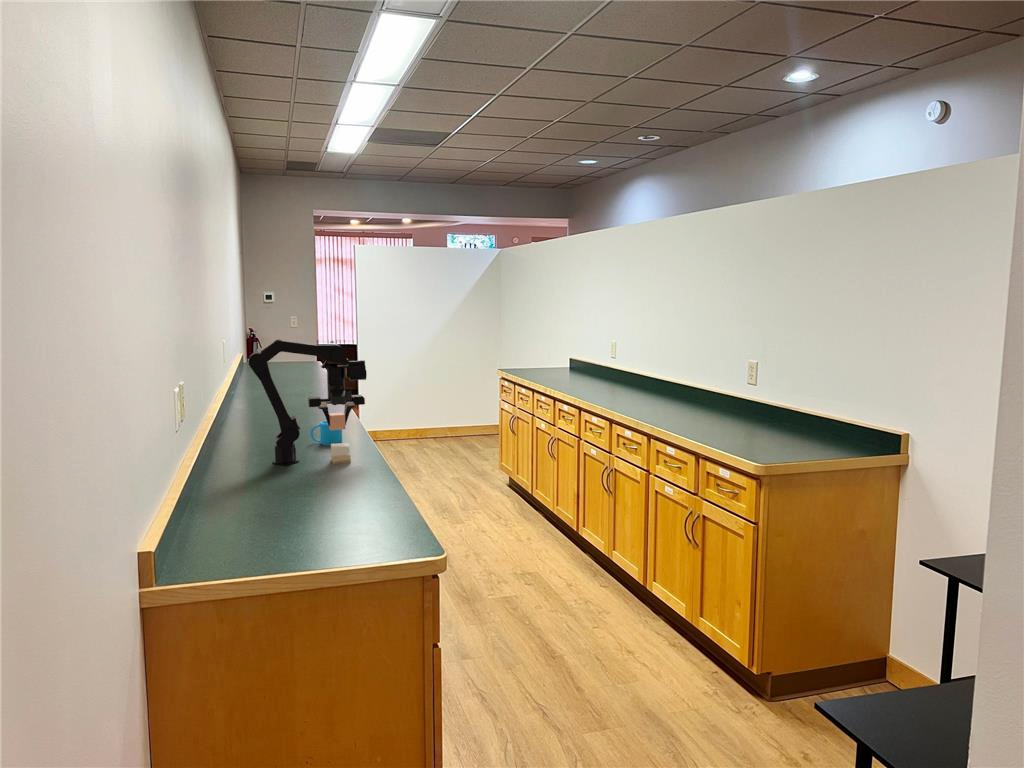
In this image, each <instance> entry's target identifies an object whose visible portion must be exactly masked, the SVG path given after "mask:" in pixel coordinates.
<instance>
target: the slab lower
mask: <svg viewBox="0 0 1024 768" xmlns="http://www.w3.org/2000/svg"><path fill="white" fill-rule="evenodd" d="M331 462H332V464H333V465H335V464H336V465H337V464H351V463H352V459H351V454H350V455H342V456H331Z"/></svg>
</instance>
